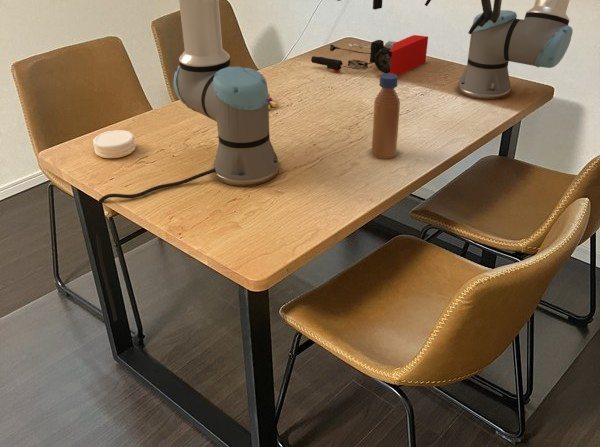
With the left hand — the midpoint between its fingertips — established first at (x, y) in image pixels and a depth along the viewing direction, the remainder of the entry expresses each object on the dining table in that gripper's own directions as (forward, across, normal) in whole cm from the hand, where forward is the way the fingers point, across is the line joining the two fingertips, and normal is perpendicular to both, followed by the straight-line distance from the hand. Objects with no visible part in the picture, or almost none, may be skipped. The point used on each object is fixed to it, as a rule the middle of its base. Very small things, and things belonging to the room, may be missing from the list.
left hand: (358, 4), depth 166 cm
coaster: (+28, +18, +67) cm, 75 cm away
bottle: (+28, -28, +18) cm, 44 cm away
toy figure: (+28, +19, +21) cm, 40 cm away
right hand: (+2, -19, -14) cm, 24 cm away
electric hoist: (+28, +22, -28) cm, 45 cm away
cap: (+9, -28, +18) cm, 35 cm away
